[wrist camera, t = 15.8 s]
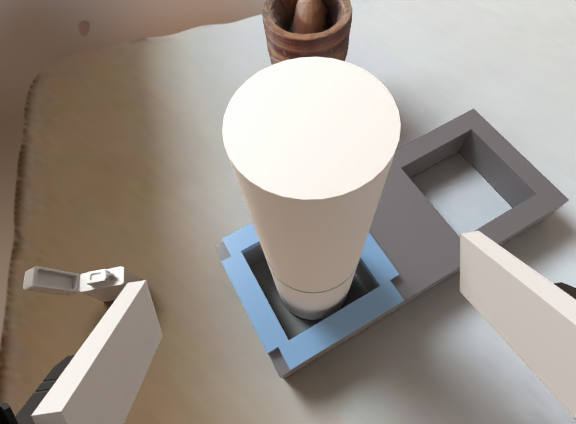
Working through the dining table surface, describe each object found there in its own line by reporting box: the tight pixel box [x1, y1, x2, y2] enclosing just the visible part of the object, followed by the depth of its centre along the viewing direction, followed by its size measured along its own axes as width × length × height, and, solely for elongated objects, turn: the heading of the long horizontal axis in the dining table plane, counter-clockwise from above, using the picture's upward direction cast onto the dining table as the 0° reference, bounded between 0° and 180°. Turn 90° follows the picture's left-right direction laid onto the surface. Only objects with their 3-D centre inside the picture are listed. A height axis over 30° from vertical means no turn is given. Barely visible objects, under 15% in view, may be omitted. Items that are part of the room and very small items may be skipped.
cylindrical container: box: [222, 57, 401, 320], centre depth 26 cm, size 7×7×25 cm
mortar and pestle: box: [262, 0, 352, 65], centre depth 39 cm, size 12×9×20 cm
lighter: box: [23, 266, 143, 302], centre depth 35 cm, size 7×2×8 cm, turn 100°
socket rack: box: [215, 109, 569, 379], centre depth 37 cm, size 31×13×5 cm, turn 119°
